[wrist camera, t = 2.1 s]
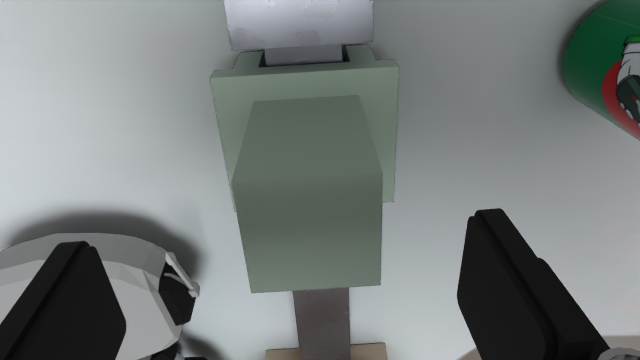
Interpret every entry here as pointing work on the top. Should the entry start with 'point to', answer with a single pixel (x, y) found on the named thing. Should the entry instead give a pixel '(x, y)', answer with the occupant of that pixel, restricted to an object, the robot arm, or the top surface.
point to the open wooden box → (362, 356)
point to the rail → (301, 49)
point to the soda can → (608, 63)
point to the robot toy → (118, 288)
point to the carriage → (309, 166)
